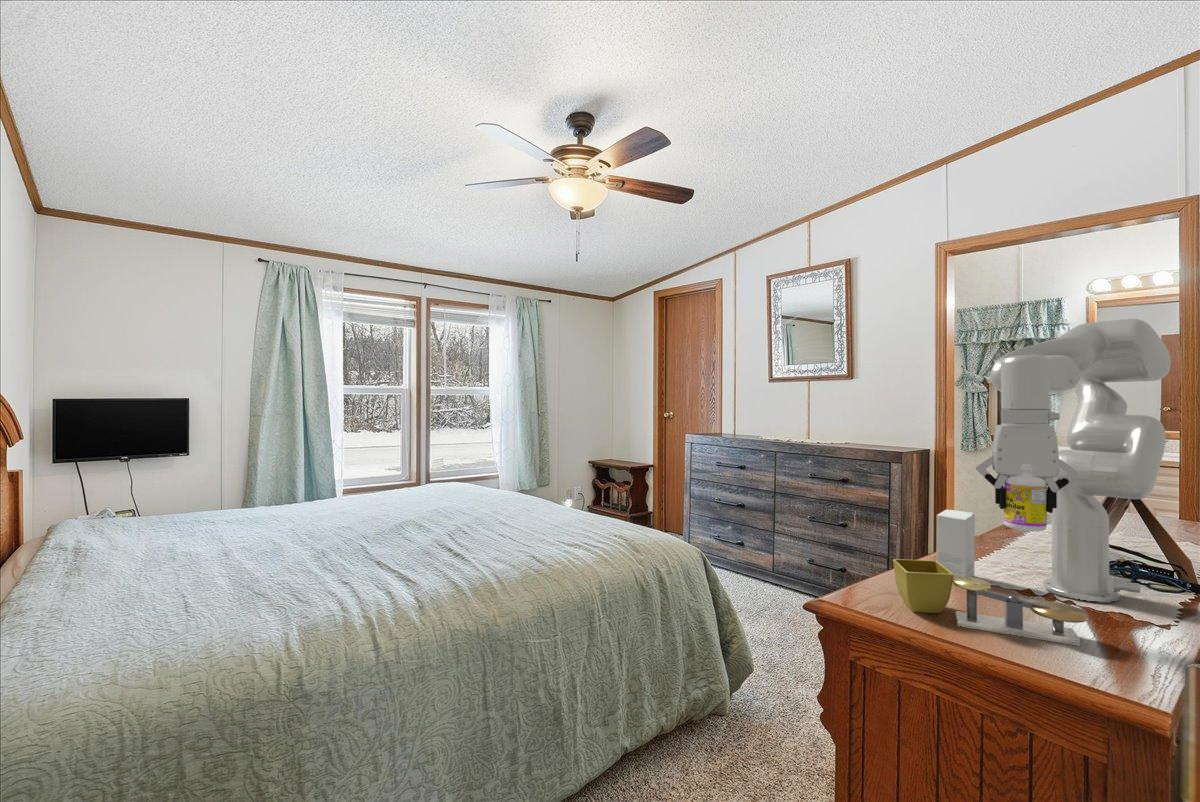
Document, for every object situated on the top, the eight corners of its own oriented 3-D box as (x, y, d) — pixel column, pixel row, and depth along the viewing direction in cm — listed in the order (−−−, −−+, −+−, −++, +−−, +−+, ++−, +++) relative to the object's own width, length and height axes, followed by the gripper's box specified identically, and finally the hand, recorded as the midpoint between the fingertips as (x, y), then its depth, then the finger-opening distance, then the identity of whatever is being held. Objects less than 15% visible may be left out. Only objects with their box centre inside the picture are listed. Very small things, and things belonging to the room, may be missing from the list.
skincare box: (946, 570, 137) (945, 508, 137) (977, 576, 132) (976, 512, 132) (935, 578, 131) (934, 514, 131) (967, 584, 126) (966, 518, 126)
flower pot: (955, 618, 108) (954, 573, 108) (906, 616, 110) (906, 571, 109) (936, 602, 116) (936, 560, 116) (892, 599, 118) (892, 558, 118)
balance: (1080, 633, 100) (1080, 589, 100) (1093, 651, 93) (1093, 604, 93) (952, 613, 110) (951, 573, 110) (955, 628, 103) (954, 585, 103)
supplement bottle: (995, 524, 109) (995, 460, 109) (1026, 523, 110) (1026, 460, 110) (1022, 532, 103) (1022, 464, 103) (1056, 532, 103) (1056, 464, 103)
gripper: (1078, 418, 105) (1078, 511, 105) (970, 417, 114) (970, 502, 114) (1088, 420, 99) (1088, 518, 99) (972, 418, 108) (972, 508, 108)
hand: (1025, 509), depth 106 cm, fingers closed on supplement bottle, 6 cm apart
